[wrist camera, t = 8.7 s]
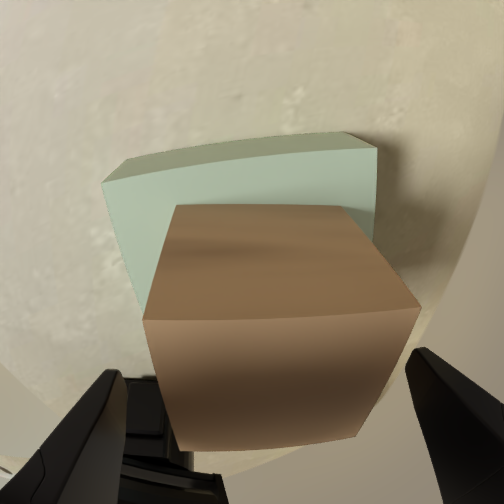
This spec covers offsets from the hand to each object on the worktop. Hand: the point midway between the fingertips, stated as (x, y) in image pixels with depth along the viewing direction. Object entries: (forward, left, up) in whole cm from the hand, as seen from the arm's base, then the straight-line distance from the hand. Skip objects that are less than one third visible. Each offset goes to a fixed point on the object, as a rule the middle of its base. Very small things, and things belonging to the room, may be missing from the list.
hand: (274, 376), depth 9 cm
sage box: (0, 0, -9) cm, 9 cm away
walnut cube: (0, 0, -5) cm, 5 cm away
